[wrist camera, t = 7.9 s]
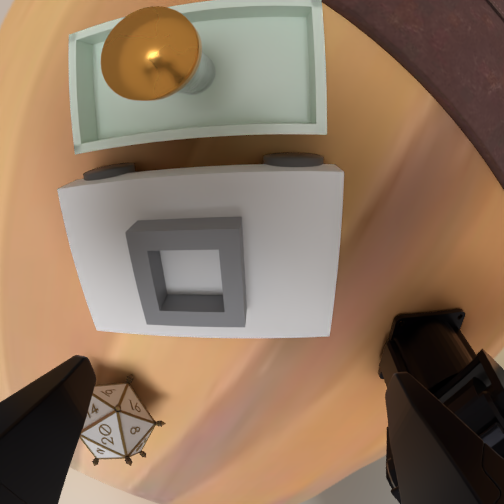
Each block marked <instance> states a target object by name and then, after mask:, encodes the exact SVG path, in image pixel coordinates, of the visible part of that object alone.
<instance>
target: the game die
mask: <svg viewBox="0 0 504 504" xmlns="http://www.w3.org/2000/svg"><path fill="white" fill-rule="evenodd" d="M132 380H133V378H132V375H130V376H128V378H127V382H125V383H115V384H105V385H95V387H94V391H93V394H92V398H91V402H90V406H89V409H88V413H87V417H86V420H85V423H84V426H83V429H82V432H81V435H80V439H81V440H82V441H83V443H84V444H85V445H86V446H87V448H88V449H89V450H90V452H91V453H92V454H93V455H94V457H95V459H93V461H92V462H93V464H94V466H95V465H97V464H98V462H99V461H98V460H99V459H122V458H125V461H126V463H127V464H129V465H130V466H131V464H132V461H131V459H130V458H129V457H131V456H133V455H135V454H138V453H140V455H141V456H142V457H146V453H144V451H142V449H143V447H144V445H145V444H146V442H147V440H148V438H149V436H150V434H151V433H152V431H153V429H154V427H155V425H157V426H161V427H162V425H164V424H165V423H164V422H162V421H157V422H156V421H155V420H154V419H153V418H152V416H151V415H150V413H149V412H148V411H147V409H146V408H145V406H144V405H143V403H142V402H141V400H140V399H139V398H138V396H137V395H136V393H135V392H134V390H133V388H132V387H131V385H130V383H131V382H132Z"/></svg>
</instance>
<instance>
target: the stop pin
mask: <svg viewBox="0 0 504 504" xmlns="http://www.w3.org/2000/svg"><path fill="white" fill-rule="evenodd" d="M101 70H102V74H103V77H104V79H105V81H106V83H107V85H108V86H109V87H110V88H111V89H112V90H113V91H114V92H115V93H116V94H118V95H120V96H122V97H124V98H127V99H130V100H139V101H155V100H160V99H164V98H167V97H169V96H171V95H173V94H175V93H177V92H178V93H183V94H188V95H194V94H199V93H201V92H203V91H205V90H206V89H208V88H209V87H210V85H211V84H212V82H213V80H214V78H215V66H214V63H213V62H212V60H211V59H210V58H209V57H208V56H207V55H206V54H204V53H203V52H202V43H201V39H200V36H199V33H198V31H197V30H196V28H195V27H194V26H193V25H192V23H191V22H190V21H189V20H188V19H187V18H186V17H185V16H184V15H182V14H181V13H180V12H178V11H176V10H173V9H171V8H167V7H159V6H157V7H147V8H143V9H140V10H137V11H135V12H133V13H131V14H129V15H128V16H126V17H125V18H123V19H122V20H121V21H120V22H119V23H118V24H117V25H116V26H115V27H114V28H113V29H112V31H111V32H110V33H109V35H108V37H107V38H106V41H105V43H104V45H103V49H102V53H101Z"/></svg>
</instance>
